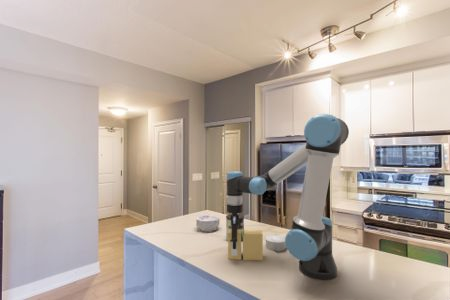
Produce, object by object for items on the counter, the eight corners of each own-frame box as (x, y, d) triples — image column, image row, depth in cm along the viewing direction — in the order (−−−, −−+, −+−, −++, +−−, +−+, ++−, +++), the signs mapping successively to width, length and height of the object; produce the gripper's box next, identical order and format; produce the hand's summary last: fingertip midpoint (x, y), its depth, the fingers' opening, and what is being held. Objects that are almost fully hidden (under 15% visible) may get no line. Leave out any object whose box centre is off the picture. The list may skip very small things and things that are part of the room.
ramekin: (261, 248, 122) (261, 238, 122) (272, 242, 130) (272, 233, 131) (280, 254, 115) (280, 244, 115) (290, 248, 123) (290, 238, 123)
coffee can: (245, 238, 137) (244, 214, 138) (242, 244, 127) (242, 219, 127) (228, 236, 139) (227, 213, 140) (224, 243, 129) (224, 218, 129)
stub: (241, 254, 113) (241, 229, 113) (241, 259, 108) (241, 233, 108) (228, 253, 114) (228, 229, 114) (228, 259, 108) (228, 233, 108)
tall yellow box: (261, 255, 113) (261, 230, 113) (262, 260, 107) (262, 234, 107) (242, 254, 113) (242, 230, 113) (243, 260, 108) (242, 233, 108)
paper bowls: (206, 224, 163) (206, 213, 164) (224, 228, 155) (224, 216, 155) (191, 230, 151) (191, 218, 151) (209, 235, 142) (209, 222, 142)
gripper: (228, 199, 123) (228, 241, 122) (225, 209, 100) (225, 261, 100) (242, 199, 122) (242, 241, 122) (242, 209, 100) (242, 261, 99)
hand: (234, 250), depth 111 cm, fingers open, 10 cm apart
